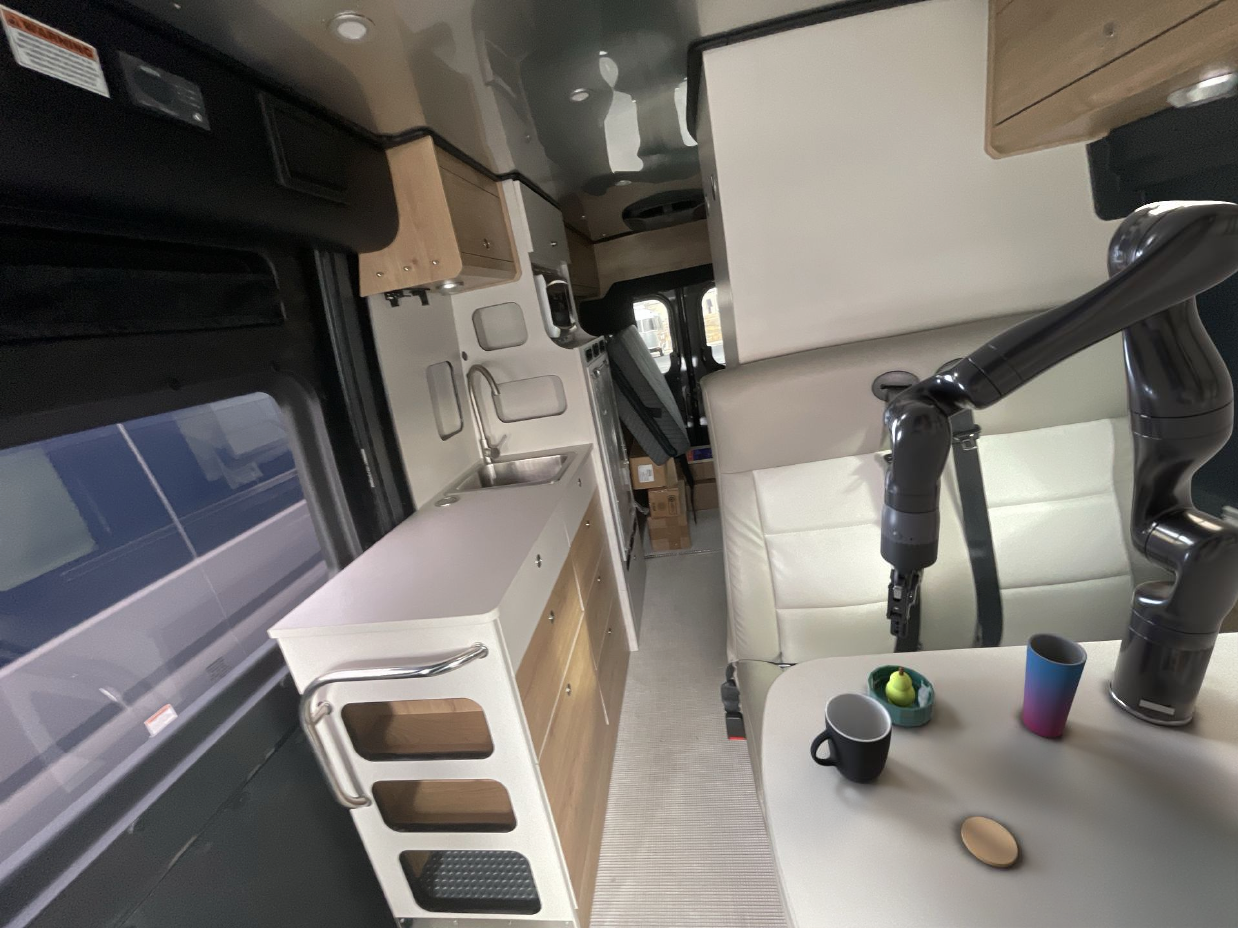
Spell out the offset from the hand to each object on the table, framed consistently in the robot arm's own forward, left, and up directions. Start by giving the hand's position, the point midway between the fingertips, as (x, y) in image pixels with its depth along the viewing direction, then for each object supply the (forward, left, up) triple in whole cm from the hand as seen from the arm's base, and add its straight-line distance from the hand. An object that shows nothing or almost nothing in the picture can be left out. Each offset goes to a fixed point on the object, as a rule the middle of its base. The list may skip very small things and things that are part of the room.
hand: (904, 619), depth 84 cm
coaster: (+18, +14, -18) cm, 29 cm away
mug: (+16, -4, -18) cm, 24 cm away
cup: (-6, +19, -18) cm, 27 cm away
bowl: (0, 0, -18) cm, 18 cm away
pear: (0, 0, -17) cm, 17 cm away
